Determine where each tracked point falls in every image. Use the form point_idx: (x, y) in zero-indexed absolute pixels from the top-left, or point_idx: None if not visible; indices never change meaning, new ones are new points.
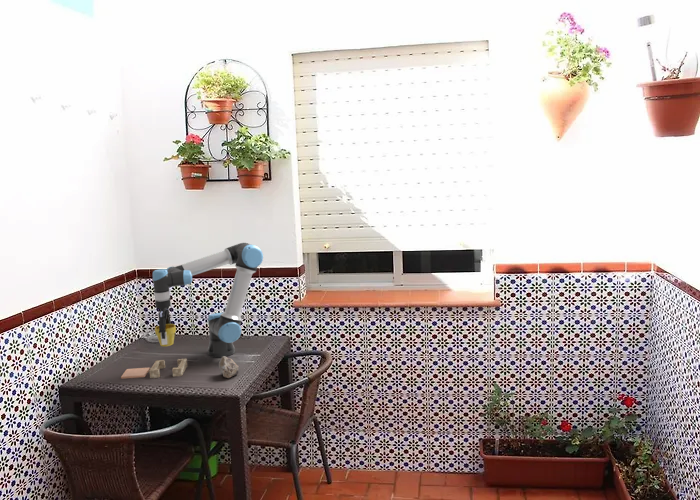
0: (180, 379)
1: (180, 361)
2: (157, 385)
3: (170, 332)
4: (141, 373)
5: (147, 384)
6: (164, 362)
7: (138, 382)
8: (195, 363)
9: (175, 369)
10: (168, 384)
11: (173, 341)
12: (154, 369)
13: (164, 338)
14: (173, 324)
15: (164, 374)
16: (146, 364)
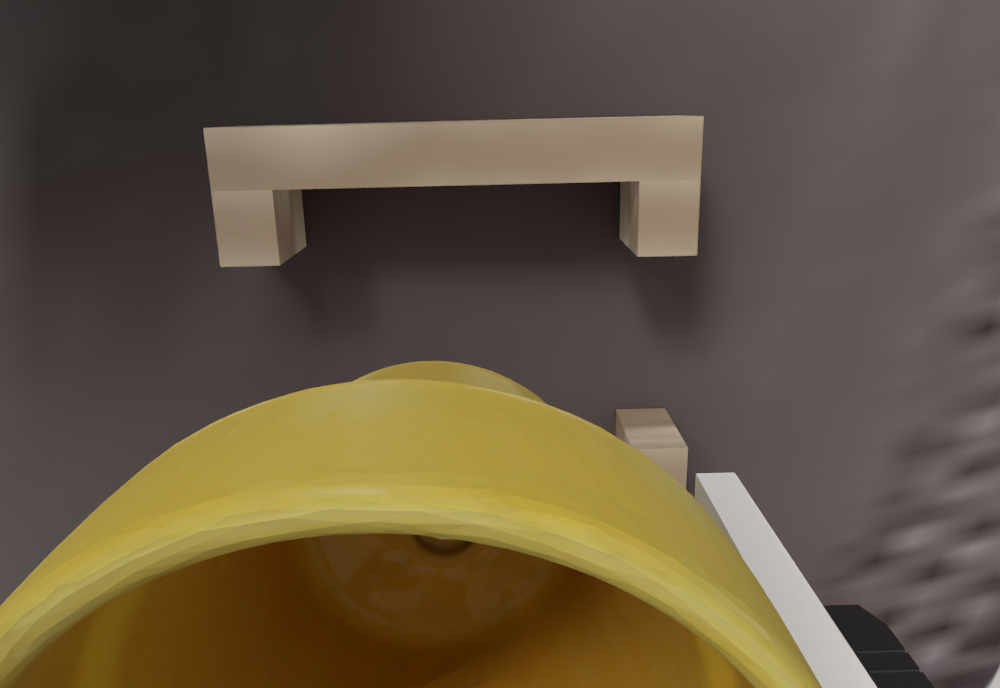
0: (811, 106)
1: (280, 215)
2: (951, 361)
3: (727, 543)
4: None
5: (877, 484)
6: None
7: None
8: (145, 13)
9: (697, 206)
10: (960, 231)
11: (448, 368)
12: None
13: (868, 617)
14: (5, 658)
15: (560, 366)
16: None
